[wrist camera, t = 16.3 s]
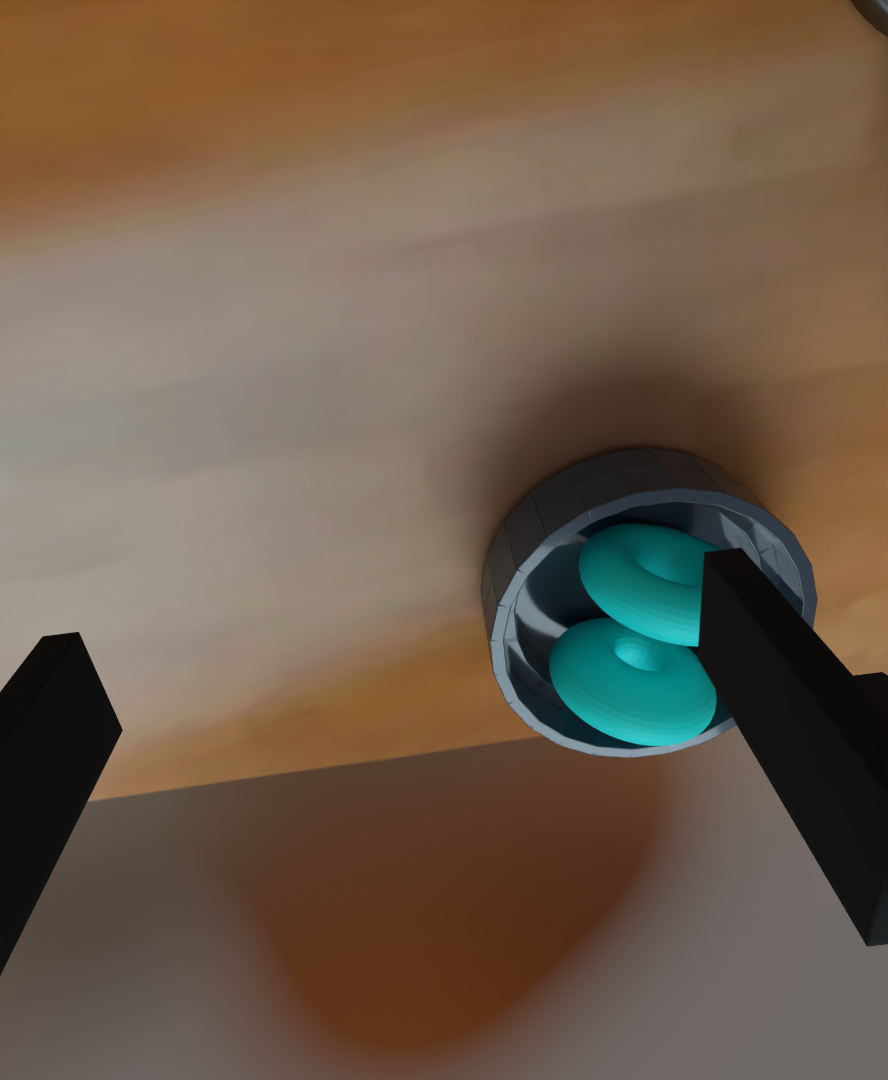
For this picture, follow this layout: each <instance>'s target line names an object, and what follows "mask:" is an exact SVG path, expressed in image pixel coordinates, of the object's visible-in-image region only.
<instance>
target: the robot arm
mask: <svg viewBox="0 0 888 1080" xmlns="http://www.w3.org/2000/svg"><path fill="white" fill-rule="evenodd" d="M851 1H852V3H853V4H854V6H855V7H856V9H857V10H858V11H859V12H860V13H861V14H862V16H863V17H864V18H865V19H866V20H867V21H868V22H869V23H870V24H871V25H873V26H874V27H875V28H876V29H877V30H878V31H880V32H881V33H883V34H884V35H886V36H887V37H888V0H851ZM698 660H699V662H700V663H701V665H702V667H703V668H704V670H705V672H706V673H707V675H708V677H709V679H710V680H711V682H712V684H713V685H714V687H715V689H716V691H717V692H718V694H719V696H720V697H721V699H722V701H723V702H724V704H725V706H726V708H727V709H728V711H729V713H730V714H731V716H732V718H733V719H734V721H735V723H736V725H737V726H738V728H739V729H740V731H741V733H742V735H743V736H744V738H745V740H746V742H747V743H748V745H749V747H750V748H751V750H752V752H753V753H754V755H755V757H756V758H757V760H758V762H759V764H760V765H761V767H762V769H763V770H764V772H765V774H766V775H767V777H768V779H769V781H770V782H771V784H772V786H773V787H774V789H775V791H776V793H777V794H778V796H779V798H780V799H781V801H782V803H783V804H784V806H785V808H786V809H787V811H788V813H789V815H790V816H791V818H792V820H793V821H794V823H795V825H796V827H797V828H798V830H799V832H800V833H801V835H802V837H803V838H804V840H805V842H806V844H807V845H808V847H809V849H810V850H811V852H812V854H813V855H814V857H815V859H816V861H817V862H818V864H819V866H820V867H821V869H822V871H823V872H824V874H825V876H826V878H827V879H828V881H829V883H830V884H831V886H832V888H833V889H834V891H835V893H836V895H837V896H838V898H839V900H840V901H841V903H842V905H843V906H844V908H845V910H846V912H847V913H848V915H849V917H850V918H851V920H852V922H853V924H854V925H855V927H856V928H857V930H858V932H859V934H860V935H861V937H862V939H863V940H864V942H865V944H866V946H876V945H884V944H888V675H886V674H885V673H883V672H879V673H871V674H863V675H855V676H853V675H852V674H851V673H850V672H849V671H848V670H847V668H846V667H845V666H844V665H843V664H842V663H841V661H840V660H839V659H838V658H837V657H836V656H835V655H834V653H833V652H832V651H831V650H830V649H829V648H828V647H827V645H826V644H825V643H824V642H823V641H822V640H821V639H820V637H819V636H818V635H817V634H816V633H815V632H814V630H813V629H812V628H811V627H810V626H809V625H808V624H807V622H806V621H805V620H804V619H803V618H802V617H801V616H800V614H799V613H798V612H797V611H796V610H795V609H794V608H793V606H792V605H791V604H790V603H789V602H788V601H787V599H786V598H785V597H784V596H783V595H782V594H781V593H780V591H779V590H778V589H777V588H776V587H775V586H774V585H773V583H772V582H771V581H770V580H769V579H768V578H767V576H766V575H765V574H764V573H763V572H762V571H761V570H760V568H759V567H758V566H757V565H756V564H755V563H754V562H753V560H752V559H751V558H750V557H749V556H748V555H747V554H746V552H745V551H744V550H743V549H742V548H733V549H725V550H718V551H710V552H704V564H703V580H702V596H701V611H700V627H699V643H698ZM122 731H123V730H122V727H121V725H120V723H119V721H118V718H117V716H116V714H115V712H114V710H113V707H112V705H111V703H110V701H109V698H108V696H107V694H106V692H105V689H104V687H103V685H102V683H101V680H100V678H99V676H98V674H97V672H96V669H95V667H94V665H93V663H92V660H91V658H90V656H89V654H88V651H87V649H86V647H85V645H84V642H83V640H82V638H81V636H80V634H79V632H74V633H66V634H58V635H51V636H43V637H42V638H41V639H40V641H39V642H38V643H37V645H36V646H35V647H34V649H33V650H32V651H31V653H30V654H29V655H28V656H27V658H26V659H25V660H24V662H23V663H22V664H21V666H20V667H19V668H18V669H17V671H16V672H15V673H14V675H13V676H12V677H11V679H10V680H9V681H8V683H7V684H6V685H5V686H4V688H3V689H2V690H1V692H0V975H1V973H2V971H3V969H4V967H5V965H6V963H7V961H8V959H9V957H10V955H11V953H12V951H13V949H14V947H15V945H16V943H17V941H18V939H19V937H20V935H21V933H22V931H23V929H24V927H25V925H26V923H27V921H28V919H29V917H30V915H31V913H32V911H33V909H34V907H35V905H36V903H37V901H38V899H39V897H40V895H41V893H42V891H43V889H44V887H45V885H46V883H47V881H48V879H49V877H50V875H51V873H52V871H53V869H54V867H55V865H56V863H57V861H58V859H59V857H60V855H61V853H62V851H63V849H64V847H65V845H66V843H67V841H68V839H69V837H70V835H71V833H72V831H73V829H74V827H75V825H76V823H77V821H78V819H79V817H80V815H81V813H82V811H83V809H84V807H85V805H86V803H87V801H88V799H89V797H90V795H91V793H92V791H93V789H94V787H95V785H96V783H97V781H98V779H99V777H100V775H101V773H102V771H103V769H104V767H105V765H106V763H107V761H108V759H109V757H110V755H111V753H112V751H113V749H114V747H115V745H116V743H117V741H118V739H119V737H120V735H121V733H122Z"/></svg>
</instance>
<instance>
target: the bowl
mask: <svg viewBox="0 0 888 1080" xmlns="http://www.w3.org/2000/svg"><path fill="white" fill-rule="evenodd" d="M629 523H640V524H651V525H658V526H663V527H668V528H672V529H675V530H679V531H682V532H685V533H688V534H691V535H694V536H696V537H699V538H701V539H704V540H706V541H708V542H710V543H712V544H714V545H716V546H718V547H719V548H721V549H723V550H725V549H733V548H742V549H743V550H744V551H745V552H746V554H747V555H748V556H749V557H750V558H751V559H752V560H753V562H754V563H755V564H756V565H757V566H758V567H759V568H760V570H761V571H762V572H763V573H764V574H765V575H766V576H767V578H768V579H769V580H770V581H771V582H772V583H773V585H774V586H775V587H776V588H777V589H778V590H779V591H780V593H781V594H782V595H783V596H784V597H785V598H786V599H787V601H788V602H789V603H790V604H791V605H792V606H793V608H794V609H795V610H796V611H797V612H798V613H799V614H800V616H801V617H802V618H803V619H804V620H805V621H806V622H807V624H808V625H809V626H810V627H811V628H812V629H813V625H814V618H815V612H816V606H817V594H816V588H815V582H814V576H813V570H812V565H811V563H810V561H809V559H808V558H807V556H806V554H805V552H804V551H803V549H802V547H801V545H800V544H799V542H798V540H797V538H796V537H795V535H794V534H793V533H792V531H791V530H790V529H789V528H787V527H786V526H785V525H784V524H783V523H782V522H781V521H780V520H779V519H778V518H777V517H776V516H775V515H774V514H773V513H772V512H771V511H770V510H769V509H768V508H767V507H766V506H765V505H764V504H762V503H761V502H760V501H759V500H758V499H757V498H756V497H755V496H754V495H753V494H752V493H751V492H750V491H749V490H748V489H747V488H745V487H744V486H743V485H742V484H741V483H740V482H738V481H737V480H736V479H735V478H734V477H733V476H731V475H730V474H729V473H728V472H727V471H725V470H724V469H723V468H721V467H719V466H717V465H714V464H712V463H710V462H707V461H705V460H703V459H700V458H698V457H695V456H693V455H691V454H687V453H681V452H673V451H665V450H657V449H646V448H645V449H638V450H630V451H622V452H615V453H607V454H606V455H605V454H603V455H601V456H598V457H595V458H593V459H590V460H588V461H585V462H582V463H580V464H577V465H575V466H572V467H569V468H567V469H566V470H563V471H562V472H560V473H559V474H557V475H556V476H554V477H553V478H551V479H550V480H548V481H547V482H545V483H544V484H542V485H541V486H539V487H538V488H537V489H535V490H534V491H532V492H531V493H530V494H529V495H528V496H527V497H526V498H525V499H524V501H523V502H522V503H521V504H520V505H519V506H518V507H517V508H516V509H515V510H514V512H513V513H512V514H511V515H510V516H509V517H508V518H507V519H506V520H505V522H504V523H503V525H502V526H501V528H500V530H499V532H498V534H497V536H496V538H495V540H494V542H493V544H492V546H491V548H490V550H489V552H488V554H487V558H486V563H485V568H484V573H483V578H482V583H481V597H482V606H483V615H484V622H485V628H486V634H487V640H488V645H489V651H490V657H491V663H492V669H493V674H494V676H495V679H496V681H497V683H498V685H499V687H500V689H501V691H502V693H503V696H504V698H505V700H506V702H507V703H508V705H509V706H510V707H511V708H512V709H513V710H514V711H515V712H516V713H517V714H518V716H519V717H520V718H521V719H522V720H523V721H524V722H525V723H526V724H527V725H528V726H529V727H530V728H531V729H533V730H535V731H536V732H538V733H540V734H541V735H543V736H545V737H546V738H548V739H550V740H552V741H553V742H555V743H557V744H558V745H561V746H564V747H567V748H571V749H574V750H577V751H581V752H584V753H588V754H591V755H598V756H612V757H625V758H630V757H631V758H634V757H641V756H649V755H658V754H666V753H671V752H675V751H678V750H681V749H684V748H687V747H690V746H694V745H697V744H700V743H703V742H706V741H708V740H710V739H712V738H714V737H716V736H717V735H719V734H721V733H723V732H725V731H727V730H729V729H730V728H732V727H734V726H736V723H735V721H734V719H733V718H732V716H731V714H730V713H729V711H728V709H727V708H726V706H725V704H724V702H723V701H722V699H721V697H720V696H719V694H718V692H717V691H716V708H715V713H714V716H713V718H712V720H711V722H710V723H709V725H708V726H707V727H706V728H705V729H704V730H703V731H702V732H701V733H700V734H699V735H697V736H696V737H694V738H692V739H690V740H688V741H686V742H683V743H680V744H675V745H668V746H648V745H640V744H634V743H630V742H627V741H623V740H620V739H617V738H615V737H612V736H610V735H608V734H605V733H603V732H601V731H599V730H598V729H596V728H594V727H592V726H591V725H589V724H588V723H586V722H585V721H584V720H582V719H581V718H580V717H578V716H577V715H576V714H575V713H574V712H573V711H572V710H571V709H570V708H569V707H568V706H567V705H566V704H565V702H564V701H563V700H562V699H561V697H560V696H559V694H558V693H557V691H556V689H555V687H554V685H553V682H552V679H551V676H550V670H549V659H550V654H551V651H552V648H553V646H554V644H555V642H556V641H557V639H558V638H559V637H560V636H561V635H562V634H563V633H564V632H565V631H566V630H567V629H569V628H571V627H572V626H574V625H576V624H578V623H581V622H584V621H587V620H592V619H598V618H612V617H611V616H609V615H608V614H607V613H605V612H604V611H603V610H602V609H601V608H600V607H599V606H598V605H597V604H596V603H595V601H594V600H593V599H592V598H591V597H590V595H589V594H588V592H587V591H586V589H585V587H584V585H583V582H582V580H581V577H580V572H579V558H580V554H581V551H582V548H583V547H584V545H585V544H586V542H587V541H588V540H589V539H590V538H591V537H592V536H593V535H594V534H595V533H597V532H599V531H600V530H603V529H605V528H607V527H610V526H614V525H619V524H629ZM687 647H688V648H689V649H690V650H691V651H692V652H693V653H694V654H695V655H696V656H697V657H698V646H687ZM715 690H716V689H715Z"/></svg>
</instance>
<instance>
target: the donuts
mask: <svg viewBox="0 0 888 1080" xmlns="http://www.w3.org/2000/svg"><path fill="white" fill-rule="evenodd" d="M718 550H723V549H721V548H719V547H718V546H716V545H714V544H712V543H710V542H708V541H706V540H704V539H701V538H699V537H696V536H694V535H691V534H688V533H685V532H682V531H679V530H675V529H672V528H668V527H663V526H658V525H651V524H640V523H629V524H619V525H614V526H610V527H607V528H605V529H603V530H600V531H599V532H597V533H595V534H594V535H593V536H592V537H591V538H590V539H589V540H588V541H587V542H586V544H585V545H584V547H583V548H582V551H581V554H580V558H579V572H580V577H581V580H582V582H583V585H584V587H585V589H586V591H587V592H588V594H589V595H590V597H591V598H592V599H593V600H594V601H595V603H596V604H597V605H598V606H599V607H600V608H601V609H602V610H603V611H604V612H605V613H607V614H608V615H609V616H611V617H612V618H598V619H592V620H587V621H584V622H581V623H578V624H576V625H574V626H572V627H571V628H569V629H567V630H566V631H565V632H564V633H563V634H562V635H561V636H560V637H559V638H558V639H557V641H556V642H555V644H554V646H553V648H552V651H551V654H550V659H549V670H550V676H551V679H552V682H553V685H554V687H555V689H556V691H557V693H558V694H559V696H560V697H561V699H562V700H563V701H564V702H565V704H566V705H567V706H568V707H569V708H570V709H571V710H572V711H573V712H574V713H575V714H576V715H577V716H578V717H580V718H581V719H582V720H584V721H585V722H586V723H588V724H589V725H591V726H592V727H594V728H596V729H598V730H599V731H601V732H603V733H605V734H608V735H610V736H612V737H615V738H617V739H620V740H623V741H627V742H630V743H634V744H640V745H648V746H668V745H675V744H680V743H683V742H686V741H688V740H690V739H692V738H694V737H696V736H697V735H699V734H700V733H701V732H702V731H703V730H704V729H705V728H706V727H707V726H708V725H709V723H710V722H711V720H712V718H713V716H714V713H715V708H716V690H715V687H714V685H713V684H712V682H711V680H710V679H709V677H708V675H707V673H706V672H705V670H704V668H703V667H702V665H701V663H700V662H699V660H698V657H697V656H696V655H695V654H694V653H693V652H692V651H691V650H690V649H689V648H688V647H687V646H698V643H699V627H700V611H701V596H702V580H703V564H704V552H710V551H718Z"/></svg>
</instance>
